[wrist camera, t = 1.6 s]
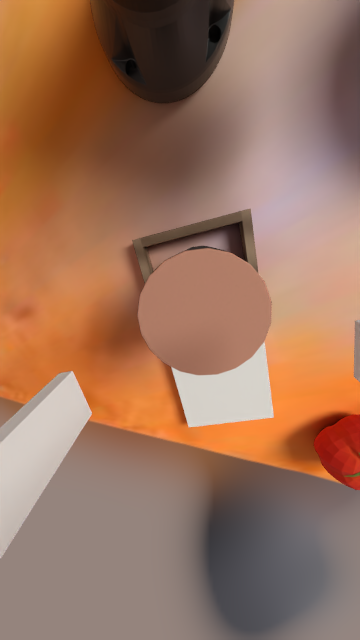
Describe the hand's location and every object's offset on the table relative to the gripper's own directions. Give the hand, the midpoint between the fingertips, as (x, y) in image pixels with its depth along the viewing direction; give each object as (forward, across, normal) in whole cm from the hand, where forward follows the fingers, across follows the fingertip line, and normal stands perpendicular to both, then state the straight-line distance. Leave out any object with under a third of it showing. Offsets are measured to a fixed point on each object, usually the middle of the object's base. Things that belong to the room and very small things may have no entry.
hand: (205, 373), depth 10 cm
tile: (+25, 0, -19) cm, 31 cm away
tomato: (+26, +21, -34) cm, 47 cm away
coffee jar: (+25, 0, 0) cm, 25 cm away
